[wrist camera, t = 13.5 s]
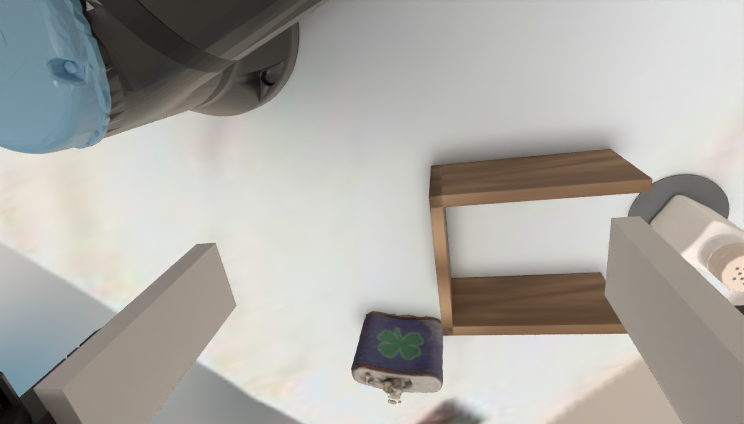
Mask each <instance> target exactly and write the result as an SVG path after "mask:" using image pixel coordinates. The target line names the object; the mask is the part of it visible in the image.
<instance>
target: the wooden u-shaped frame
mask: <svg viewBox="0 0 744 424" xmlns="http://www.w3.org/2000/svg"><path fill="white" fill-rule="evenodd" d="M651 185H652V178H650V177H649V176H647V175H646V174H645V173H643V172H642V171H640V170H639V169H638V168H636V167H635V166H633V165H632V164H631V163H629V162H628V161H627V160H625V159H624V158H622V157H621V156H620V155H618V154H617V153H615V152H614V151H613V150H611V149H607V150H596V151H586V152H575V153H564V154H554V155H543V156H533V157H522V158H511V159H501V160H490V161H479V162H469V163H458V164H447V165H437V166H431V176H430V189H429V202H430V212H431V222H432V233H433V243H434V253H435V263H436V273H437V283H438V293H439V303H440V313H441V323H442V333H443V336H446V335H540V334H628V333H627V331H626V329H625V328H624V326H623V324H622V323H621V321H620V320H619V318H618V316H617V315H616V313H615V311H614V310H613V308H612V306H611V305H610V303H609V301H608V300H607V298H606V296H605V285H606V280H605V279H604V277H603V276H602V274H601V273H580V274H554V275H528V276H502V277H476V278H451V270H450V258H449V246H448V235H447V223H446V211H445V207H452V206H465V205H479V204H493V203H506V202H520V201H534V200H547V199H561V198H574V197H588V196H602V195H615V194H629V193H643V192H651Z"/></svg>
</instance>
